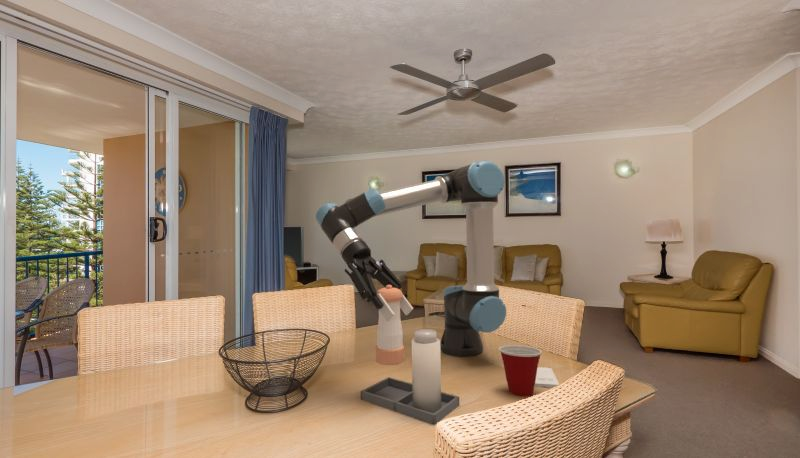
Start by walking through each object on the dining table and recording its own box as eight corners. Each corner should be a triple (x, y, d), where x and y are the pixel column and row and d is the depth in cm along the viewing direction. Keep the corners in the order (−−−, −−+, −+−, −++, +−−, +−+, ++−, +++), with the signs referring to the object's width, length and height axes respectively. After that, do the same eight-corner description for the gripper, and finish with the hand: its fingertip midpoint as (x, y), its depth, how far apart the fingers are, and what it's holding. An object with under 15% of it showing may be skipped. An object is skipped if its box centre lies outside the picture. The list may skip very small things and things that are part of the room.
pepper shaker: (408, 357, 98) (407, 283, 98) (396, 367, 92) (395, 287, 92) (384, 354, 101) (382, 282, 101) (370, 363, 95) (369, 286, 95)
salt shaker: (423, 398, 95) (421, 326, 95) (446, 406, 91) (445, 330, 91) (407, 409, 89) (405, 333, 90) (431, 417, 85) (430, 337, 85)
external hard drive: (551, 373, 114) (560, 390, 102) (523, 371, 116) (528, 388, 104) (551, 367, 114) (560, 384, 102) (523, 366, 116) (528, 382, 104)
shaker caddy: (388, 387, 104) (388, 376, 104) (459, 409, 91) (459, 396, 91) (360, 403, 95) (360, 391, 95) (434, 429, 82) (434, 415, 82)
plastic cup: (542, 388, 102) (541, 343, 102) (543, 406, 92) (542, 356, 92) (500, 383, 106) (500, 340, 106) (497, 400, 95) (496, 352, 95)
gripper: (369, 255, 114) (415, 316, 104) (318, 260, 98) (365, 332, 88) (383, 237, 111) (431, 299, 101) (331, 239, 95) (383, 312, 85)
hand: (400, 314), depth 94 cm, fingers closed on pepper shaker, 7 cm apart
